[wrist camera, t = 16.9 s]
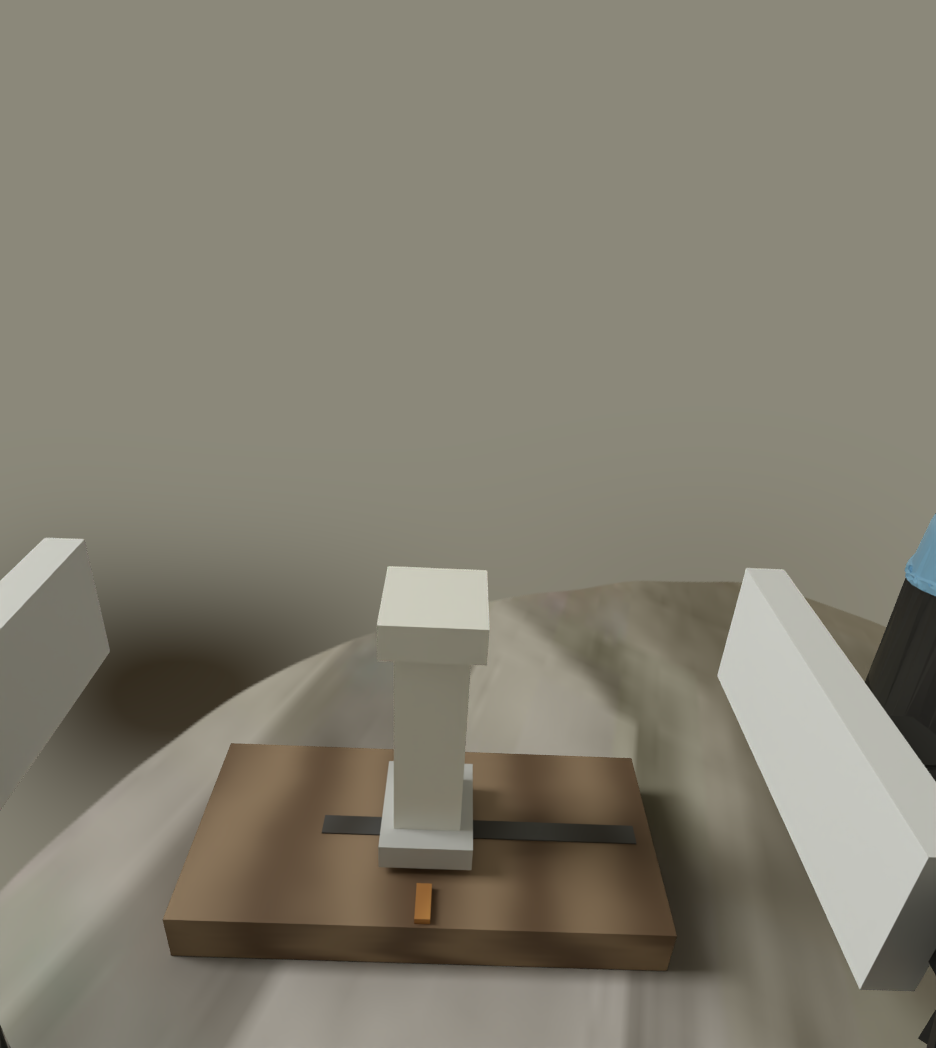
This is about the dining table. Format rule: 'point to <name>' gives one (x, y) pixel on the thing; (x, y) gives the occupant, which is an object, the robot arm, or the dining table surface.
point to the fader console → (423, 894)
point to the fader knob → (430, 713)
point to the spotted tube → (3, 1040)
